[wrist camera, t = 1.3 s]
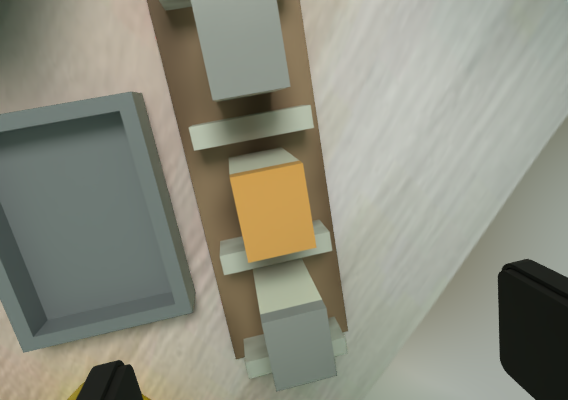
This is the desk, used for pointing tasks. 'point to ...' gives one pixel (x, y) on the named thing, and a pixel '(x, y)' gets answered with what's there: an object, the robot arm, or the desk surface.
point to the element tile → (73, 397)
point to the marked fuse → (271, 203)
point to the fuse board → (238, 141)
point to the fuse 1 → (241, 47)
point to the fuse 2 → (294, 324)
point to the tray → (86, 223)
